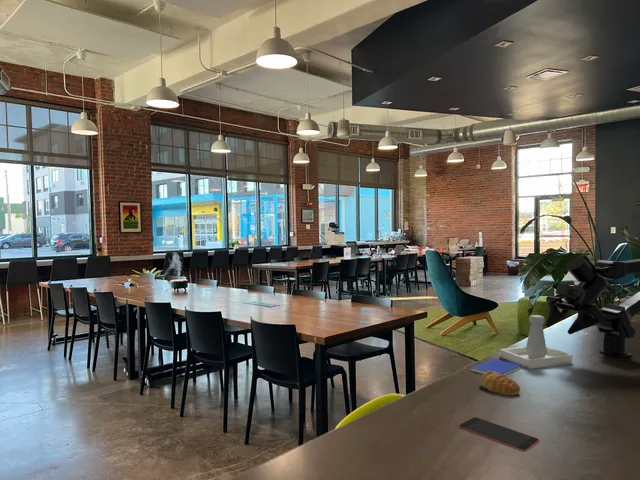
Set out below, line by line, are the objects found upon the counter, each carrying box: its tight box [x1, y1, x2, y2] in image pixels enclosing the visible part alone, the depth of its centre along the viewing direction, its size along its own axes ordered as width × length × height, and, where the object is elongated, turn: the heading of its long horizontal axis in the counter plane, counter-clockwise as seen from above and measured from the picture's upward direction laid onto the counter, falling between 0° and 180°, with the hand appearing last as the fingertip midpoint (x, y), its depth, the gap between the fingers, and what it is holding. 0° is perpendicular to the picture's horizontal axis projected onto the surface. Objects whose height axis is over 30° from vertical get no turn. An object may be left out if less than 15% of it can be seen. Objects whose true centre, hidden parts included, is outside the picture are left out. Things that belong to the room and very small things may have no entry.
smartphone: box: [457, 417, 540, 452], centre depth 91 cm, size 7×1×14 cm
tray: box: [499, 346, 573, 370], centre depth 139 cm, size 16×12×2 cm
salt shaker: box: [525, 314, 547, 359], centre depth 139 cm, size 6×6×13 cm
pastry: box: [479, 371, 521, 396], centre depth 114 cm, size 9×7×4 cm
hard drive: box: [470, 358, 521, 376], centre depth 130 cm, size 2×8×12 cm
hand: (557, 329), depth 140 cm, fingers open, 9 cm apart
